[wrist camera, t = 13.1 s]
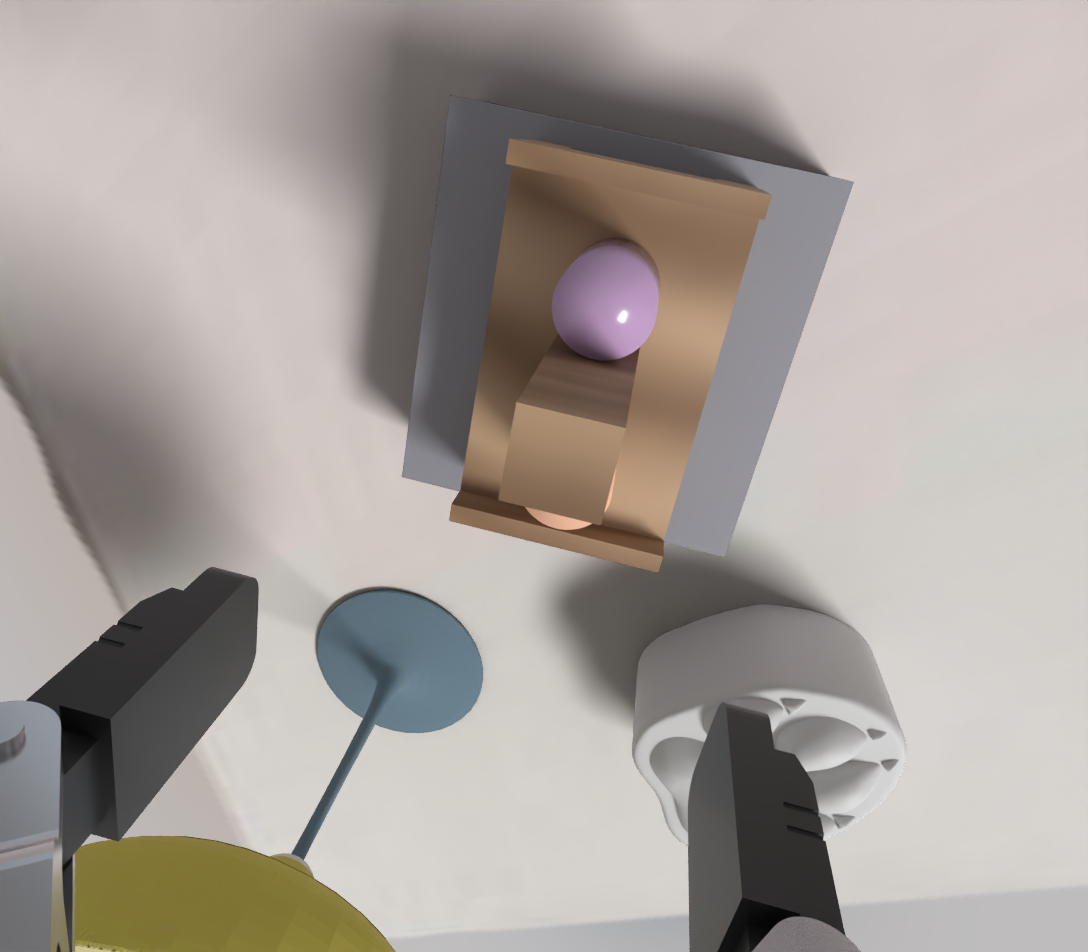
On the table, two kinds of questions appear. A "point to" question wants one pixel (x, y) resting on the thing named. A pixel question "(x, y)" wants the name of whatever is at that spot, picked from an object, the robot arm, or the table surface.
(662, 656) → the lumpy-topped squat cylinder
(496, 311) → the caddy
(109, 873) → the cocktail glass
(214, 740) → the table surface
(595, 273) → the lilac rounded capsule
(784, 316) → the plain gray square box
